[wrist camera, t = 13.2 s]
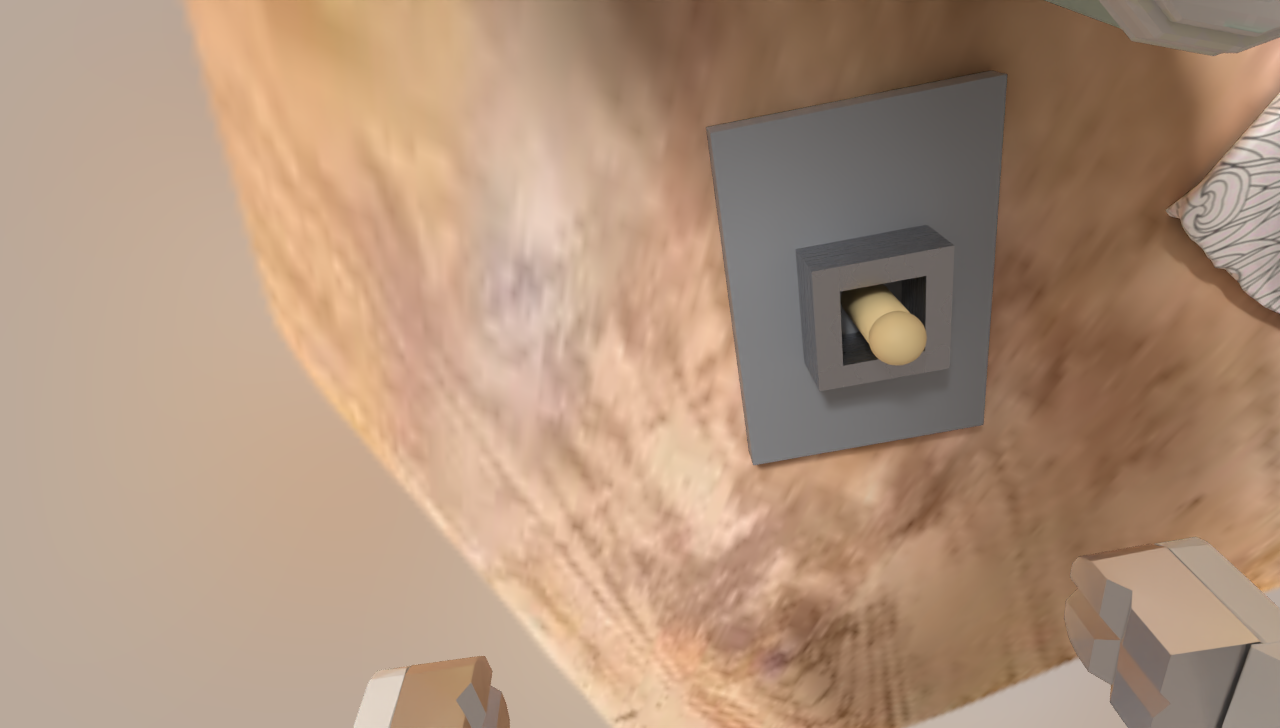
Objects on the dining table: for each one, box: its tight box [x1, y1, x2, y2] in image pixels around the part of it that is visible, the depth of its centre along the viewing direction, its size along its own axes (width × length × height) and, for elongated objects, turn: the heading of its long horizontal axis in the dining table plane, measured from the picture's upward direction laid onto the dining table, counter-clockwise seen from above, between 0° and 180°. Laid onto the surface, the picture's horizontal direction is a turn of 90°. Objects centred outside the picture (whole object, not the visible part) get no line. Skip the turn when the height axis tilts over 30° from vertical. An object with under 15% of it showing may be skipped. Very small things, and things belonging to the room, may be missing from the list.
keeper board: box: [706, 70, 1007, 465], centre depth 36 cm, size 20×14×8 cm
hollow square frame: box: [795, 225, 955, 391], centre depth 36 cm, size 7×7×3 cm
